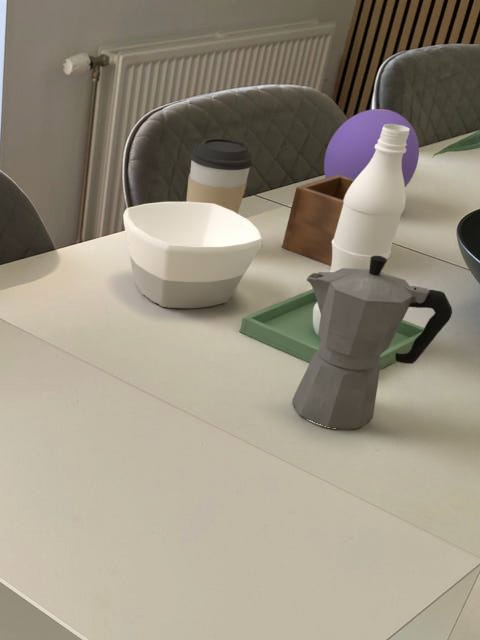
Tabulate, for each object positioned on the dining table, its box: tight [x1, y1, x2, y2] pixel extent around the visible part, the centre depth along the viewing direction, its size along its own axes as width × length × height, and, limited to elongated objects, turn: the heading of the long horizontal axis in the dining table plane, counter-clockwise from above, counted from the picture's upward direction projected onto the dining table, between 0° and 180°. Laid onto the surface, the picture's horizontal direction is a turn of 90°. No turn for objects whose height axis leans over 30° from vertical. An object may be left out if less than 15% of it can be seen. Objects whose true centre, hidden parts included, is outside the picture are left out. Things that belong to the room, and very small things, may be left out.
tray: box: [239, 288, 425, 370], centre depth 130 cm, size 18×18×2 cm
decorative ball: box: [323, 108, 420, 188], centre depth 168 cm, size 15×15×15 cm
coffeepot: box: [291, 256, 453, 431], centre depth 109 cm, size 15×9×18 cm, turn 69°
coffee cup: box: [185, 137, 253, 214], centre depth 148 cm, size 9×9×15 cm
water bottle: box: [313, 124, 410, 336], centre depth 122 cm, size 7×7×25 cm
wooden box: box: [281, 174, 355, 267], centre depth 152 cm, size 12×12×9 cm
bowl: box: [122, 201, 263, 309], centre depth 136 cm, size 18×18×9 cm
